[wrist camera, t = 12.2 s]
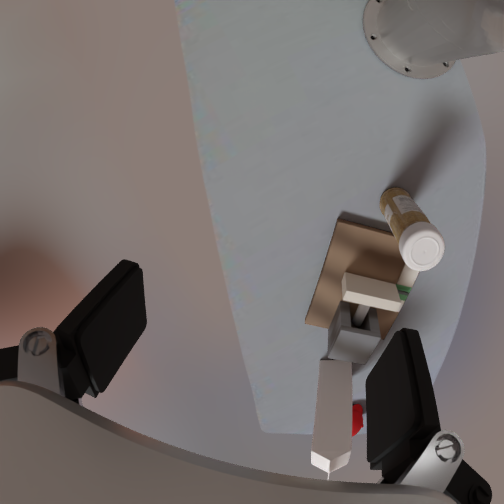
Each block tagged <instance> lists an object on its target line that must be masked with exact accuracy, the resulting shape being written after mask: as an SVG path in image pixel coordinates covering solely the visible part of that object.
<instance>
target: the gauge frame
mask: <svg viewBox="0 0 504 504" xmlns="http://www.w3.org/2000/svg"><path fill="white" fill-rule="evenodd" d="M345 272H347V273H351V274H355V275H359V276H363V277H367V278H372V279H376V280H380V281H384V282H388V283H392V284H396V287H397V289H398V290H402V291H406V292H408V293H409V292H410V290H411V288H412V286H413V284H414V282H415V280H416V278H417V276H418V274H419V272H420V271H416V270H413V269H411V268H410V267H408V266H407V265H406V263H405V262H404V260H403V258H402V256H401V253H400V250H399V244H398V242H397V240H396V238H395V237H394V235H393V233H391V232H387V231H384V230H380V229H376V228H373V227H369V226H365V225H361V224H358V223H354V222H350V221H346V220H342V219H337V222H336V226H335V229H334V232H333V236H332V239H331V242H330V245H329V249H328V252H327V255H326V258H325V262H324V265H323V268H322V271H321V274H320V277H319V280H318V283H317V286H316V289H315V292H314V295H313V298H312V301H311V304H310V307H309V310H308V312H307V315H306V318H305V324H309V325H314V326H318V327H323V328H328V358H331V359H336V360H341V361H347V362H352V363H358V364H364V365H365V364H366V362H367V361H368V359H369V357H370V356H371V354H372V352H373V351H374V349H375V347H376V346H377V344H378V342H379V341H380V339H383V340H384V338H385V337H386V335H387V333H388V331H389V330H390V328H391V326H392V324H393V323H394V321H395V319H396V317H397V315H398V313H399V312H400V310H401V308H402V306H403V304H404V302H405V300H406V298H407V295H402V294H399V297H400V300H401V304H400V306H399V308H398V310H397V312H394V311H390V310H385V309H380V308H376V307H371V306H370V308H369V310H368V312H367V314H366V316H365V318H364V321H363V323H362V325H361V326H355V325H353V324H352V319H353V317H354V315H355V313H356V310H357V308H358V306H359V304H358V303H353V302H349V301H344V300H343V296H342V279H343V276H344V273H345Z"/></svg>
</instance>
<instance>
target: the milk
mask: <svg viewBox="0 0 504 504" xmlns="http://www.w3.org/2000/svg"><path fill="white" fill-rule="evenodd" d="M351 449H352V362H347V361H341V360H320V364H319V377H318V390H317V401H316V412H315V422H314V431H313V439H312V448H311V463H312V464H313V465H314V466H317V467H318V468H320V469H322V470H324V471H326V472H328V478H329V473H330V472H332V471H334V470H336V469H338V468H340V467H342V466H344V465H346V464H348V461H349V457H350V454H351Z"/></svg>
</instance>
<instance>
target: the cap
mask: <svg viewBox="0 0 504 504" xmlns="http://www.w3.org/2000/svg"><path fill="white" fill-rule="evenodd" d="M362 413H363V409H362V406H361V405H360V404H355V405H353V406H352V436H354V435H356V434H357V433H358V432H359V430H360V429H361V427H363V417H362Z"/></svg>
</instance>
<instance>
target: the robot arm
mask: <svg viewBox="0 0 504 504" xmlns="http://www.w3.org/2000/svg"><path fill="white" fill-rule="evenodd" d="M378 1H379V2H380V3H378V2H377V1H376V0H369V2H368V4H367V5H366V8H365V10H364V14H363V30H364V33H365V37H366V39H367V41H368V44H369V46H370V47H371V49H372V50H373V52H374V53H375V54H376V55H377V57H378V58H379V59H380V60H381V61H382V62H383V63H385V64H386V65H387V66H388V67H390V68H391V69H393V70H394V71H396V72H398V73H400V74H403V75H405V76H407V77H412V78H416V79H428V78H434V77H438V76H440V75H442V74H444V73H446V72H447V71H448V70H449V69H450V68H451V67H452V66H453V64H454V63H455V61H456V60H459V59H464V58H470V57H476V56H481V55H488V54H494V53H499V52H503V51H504V0H378ZM371 36H373V37H374V40H372V39H371ZM443 63H444V64H445V66H444V65H443ZM405 68H407V69H408V72H406V71H405ZM146 324H147V319H146V308H145V297H144V285H143V272H142V269H141V268H139V265H138V263H135V262H132V261H128V260H122V261H121V262H119V264H117V265H116V266H115V268H113V269H112V270H111V271H110V272H109V273H108V274H107V275H106V276H105V277H104V278H103V279H102V280H101V281H100V282H99V283H98V285H96V287H95V288H93V289H92V290H91V292H90V293H89V294H88V295H87V296H86V297H85V298H84V299H83V300H82V301H81V302H80V303H79V304H78V305H77V306H76V307H75V308H74V309H73V310H72V312H71V313H70V314H69V315H68V316H67V317H66V318H65V319H64V320H63V321H62V322H61V324H60V325H59V326H58V327H57V328H56V330H55V331H54V332H52V331H51V330H49V329H47V328H43V327H37V328H34V329H31V330H29V331H27V332H26V333H25V334H24V335H23V336H22V338H21V340H20V343H19V345H18V346H13V347H8V348H3V349H0V504H490V502H491V499H492V491H491V488H490V485H489V484H488V483H487V481H485V480H484V479H483V478H482V477H481V476H480V475H479V474H478V473H477V472H476V471H474V469H472V468H471V467H470V466H469V465H468V464H467V463H466V462H465V461H464V460H463V456H464V445H463V442H462V440H461V438H460V437H459V436H458V435H457V434H456V433H454V432H452V431H449V430H443V431H441V428H440V422H439V417H438V411H437V405H436V401H435V396H434V391H433V386H432V382H431V377H430V373H429V370H428V366H427V362H426V358H425V354H424V350H423V346H422V343H421V339H420V336H419V333H418V331H417V330H413V329H407V328H402V329H401V330H400V331H397V332H396V333H395V334H394V336H393V337H392V339H391V341H390V342H389V344H388V346H387V347H386V349H385V351H384V352H383V354H382V355H381V357H380V358H379V360H378V362H377V363H376V365H375V366H374V368H373V369H372V371H371V372H370V374H369V375H368V377H367V379H366V409H367V461H368V462H370V469H371V470H382V477H381V479H380V480H379V481H378V482H377V483H376V484H375V483H374V484H373V483H353V482H341V481H329V480H319V479H311V478H302V477H296V476H289V475H283V474H278V473H272V472H267V471H262V470H256V469H252V468H248V467H243V466H239V465H235V464H231V463H227V462H224V461H220V460H216V459H212V458H209V457H206V456H202V455H199V454H196V453H193V452H190V451H186V450H184V449H181V448H178V447H175V446H172V445H169V444H166V443H164V442H161V441H158V440H156V439H153V438H151V437H148V436H146V435H143V434H141V433H138V432H136V431H133V430H131V429H129V428H127V427H124V426H122V425H120V424H117V423H116V422H113V421H111V420H109V419H107V418H105V417H103V416H101V415H98V414H97V413H95V412H92V411H90V410H88V409H86V408H85V407H83V405H82V399H81V398H82V396H83V395H84V393H87V394H89V395H91V396H92V397H94V398H96V397H97V395H98V393H99V392H100V393H102V392H104V391H105V389H106V388H107V386H108V385H109V383H110V382H111V380H112V378H113V377H114V375H115V374H116V372H117V371H118V369H119V367H120V366H121V365H122V363H123V361H124V360H125V358H126V357H127V355H128V354H129V352H130V351H131V349H132V348H133V346H134V345H135V343H136V342H137V340H138V339H139V337H140V336H141V334H142V333H143V331H144V330H145V328H146Z"/></svg>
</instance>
